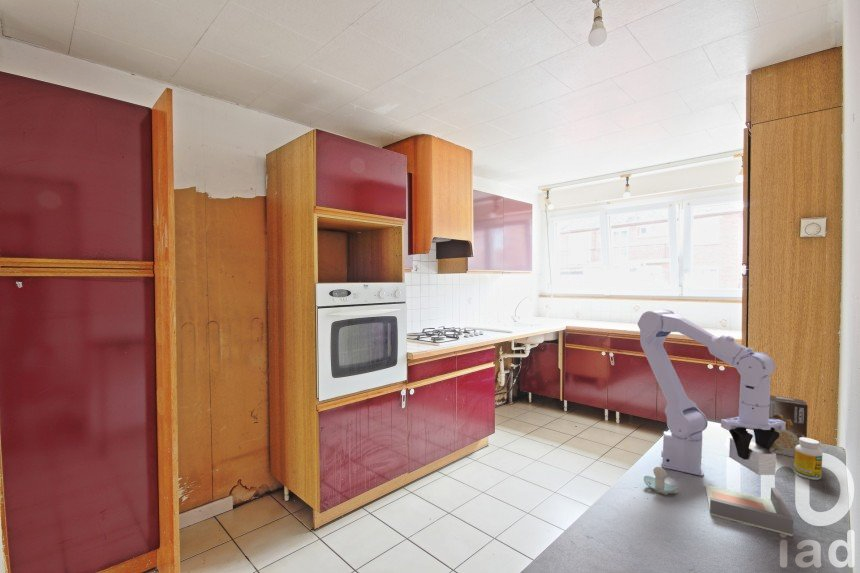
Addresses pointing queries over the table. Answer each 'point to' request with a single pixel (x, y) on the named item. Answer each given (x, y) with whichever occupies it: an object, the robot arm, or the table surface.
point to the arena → (751, 509)
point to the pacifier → (660, 482)
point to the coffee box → (788, 423)
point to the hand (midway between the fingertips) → (751, 457)
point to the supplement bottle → (808, 459)
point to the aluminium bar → (755, 458)
